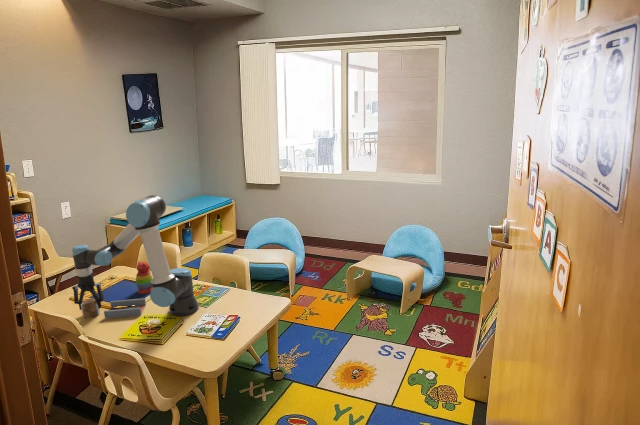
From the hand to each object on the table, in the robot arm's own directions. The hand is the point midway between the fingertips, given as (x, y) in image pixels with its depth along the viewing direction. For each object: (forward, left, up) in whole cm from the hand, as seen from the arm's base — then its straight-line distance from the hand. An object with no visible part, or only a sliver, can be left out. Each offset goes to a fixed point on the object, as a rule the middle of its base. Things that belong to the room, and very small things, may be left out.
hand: (91, 314), depth 246 cm
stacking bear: (-23, -26, -1) cm, 34 cm away
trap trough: (-18, 0, 0) cm, 18 cm away
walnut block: (0, 0, 0) cm, 1 cm away
